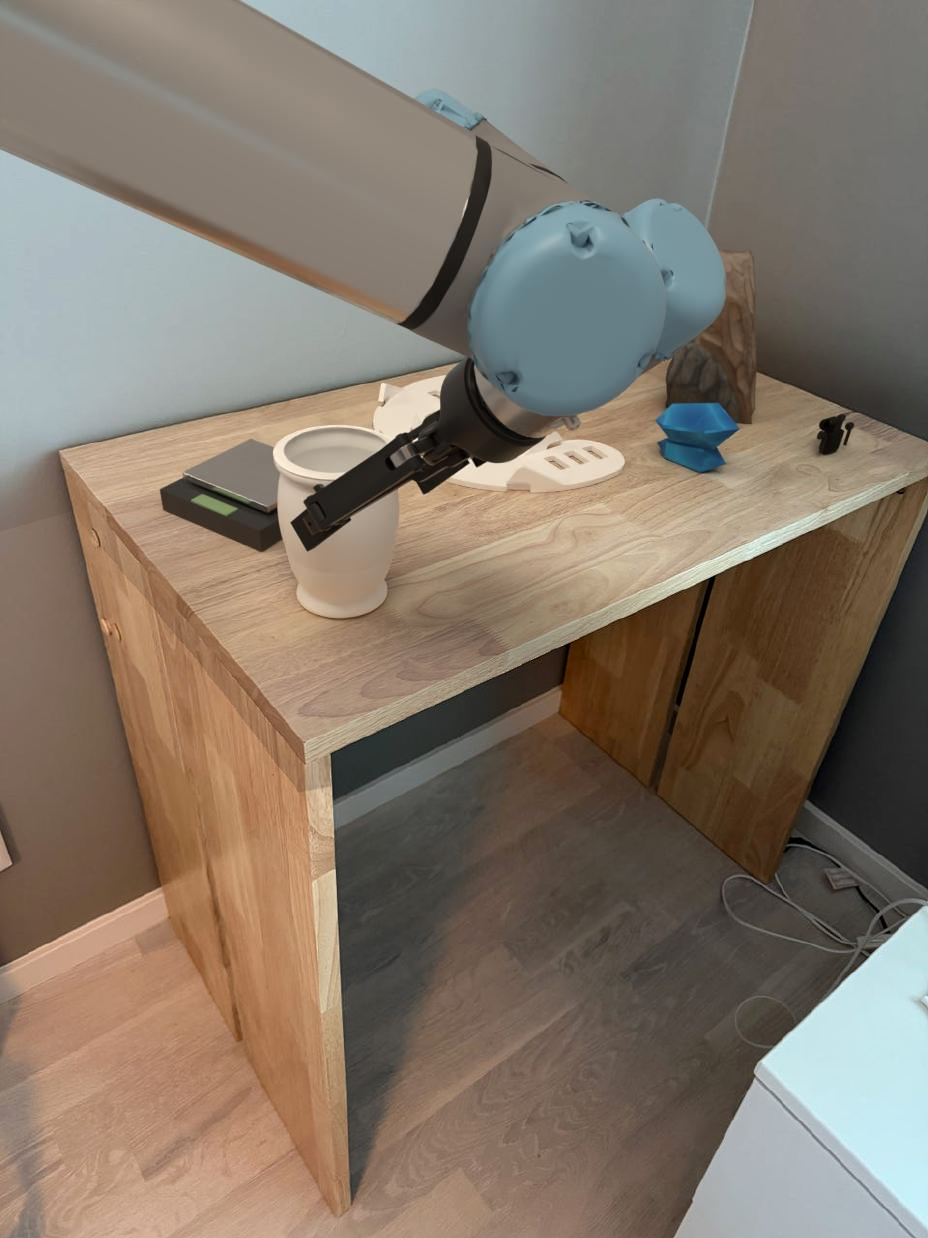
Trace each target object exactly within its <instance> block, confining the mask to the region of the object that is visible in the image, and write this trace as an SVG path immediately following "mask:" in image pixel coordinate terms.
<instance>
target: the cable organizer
mask: <svg viewBox="0 0 928 1238" xmlns="http://www.w3.org/2000/svg"><path fill="white" fill-rule="evenodd" d="M446 375H447V374H444V375H443V374H442V375H438V376H434V377H430V378H425V379H421V380H419V381H415V382H412V383H409V384H407V385H405V386H402V387H399V386H396V385H393V384H390V383H387V382H382V383H381V384H380V387H379V394H378V400H377V401H378V402H382V403H383V402H385V404H384V405H383V406H381V405H378V406H376V407H377V408H376V409H375V411H374V414H373V419H372V421H373V422H372V426H373V429H372V430H374V431H377V432H380V433H382V434H384V435H386V436H388V437H389V438H391V439H392V440H393V439H395V438H396V437H395V436H397V435H398V434H400V433H404V432H405V433H406V432H407V433H408V432H410V431H412V430H413V429H415V428H417V427H418V426H420V425H421V424H422V422H423V420H424V419H425V418H426V417H428V416H429V415H431V414H433V413H434V412H436V411H438V410H440V391H441V387H442V383H443V381H444V379H445V377H446ZM417 440H418V438H417V439H415V440H413V441H412V442H415V441H417ZM556 442H558V445H556V446H553V447H550V448H549V447H548V446H549V445H550V444H552V443H556ZM590 451H591V452H592V453H594V454H596V455H597V456H599V457H600V458H598V457H596V456H594V455H593V454H591V453H590ZM421 457H422V456H421ZM571 457H573V458H575V459H577V460H578V461H579V462H581V463H578V462H577V461H575V460H574V459H572V458H571ZM422 458H423V457H422ZM468 461H469V462H470V464H468V465H467V466H466V467H464V468H463V469H461V470H460V471H458V472H457V473H456V474H454V475H453V476H451V477H450V478H449V479H447V480H446V481H444V483H445V482H446V483H449V484H452V485H457V486H461V487H464V488H465V487H466V488H471V489H477V490H483V491H489V492H501V493H507V491H508V490H513V491H514V490H515V491H529V493H530V494H537V493H539V494H541V493H553V492H555V493H556V492H563V491H571V490H575V489H582V488H585V487H589V486H593V485H597V484H600V483H602V482H606V481H607V480H610V479H612V478H615V477H617V476H618V475H620V474H621V473H622V472H623V470H624V468H625V462H626V461H625V456H624V455H623V454H622V453H621V452H620V451H619V450H618V449H616V448H615V447H612V446H611V445H608V444H605V443H602V442H599V441H594V440H589V439H568V440H564V438H563V437H562V436H561V435H560V434H559V433H558V431H557V430H556V431H554V432H553V433H551V434H549V435H547V436H546V437H545V438H544V439H543V440H542V441H541V442H539V443H538V444H536V445H535V446H533V447H532V448H530V449H529V450H527V451H526V452H524V453H523V454H521V455H520V456H518V457H517V458H515V459H514V460H512V461H509V462H506V463H490V462H486V463H485V464H483V465H481V466H479V467H477V468H476V466H475V465H474V463H473V461H472V459H471V458H468ZM551 462H554V463H556V464H557V465H559V466H560V467H562V469H560V468H558V467H557V466H555V465H554V464H552V463H551Z"/></svg>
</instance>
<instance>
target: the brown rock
mask: <svg viewBox="0 0 928 1238" xmlns="http://www.w3.org/2000/svg"><path fill="white" fill-rule="evenodd" d="M717 249H718V251H719V253H720V256H721V258H722V261H723V265H724V269H725V273H726V286H725V291H726V299H725V303H724V306H723V309H722V311H721V313H720V314H719V316H718V317H717V319H716V320H715V321H714V322H713V323H712V324H711V325H710V326H709V327H707V328H706V329H705V330H704V331H703V332H701V334H700V335H698V336H697V337H696V338H694V339H693V340H692V341H690V342H689V343H688V344H686V345H685V346H684V347H682V348H681V349H680V350H678V351H677V352H676V353H675V354H674V355H673V357H672V358H671V360H670V362H669V363H668V366H667V368H666V372H665V390H666V392H665V393H666V400H665V408H666V409H667V408H669V407H670V406H671V405H672V404H674V403H719V404H720V405H721V407H722V408H723V409H724V410H725V411H726V413H727V414H728V415H729V416H730V417H731V419H732V420H733V421H734V422H735V423H736V424H746V425H747V424H749V425H750V424H753V419H752V416H753V414H754V413H755V410H756V388H757V387H756V385H757V373H758V372H757V371H758V370H757V369H758V368H757V364H758V363H757V362H758V361H757V360H758V357H757V356H758V341H757V340H758V338H757V325H756V324H757V321H756V320H757V316H756V314H757V313H756V312H757V308H756V307H757V306H756V297H757V295H756V294H757V293H756V277H755V262H754V258H755V257H754V255H753V254H752V250H751V249H750V248H747V249H744V250H741V251H738V250H732V251H731V250H728V249H721V248H717Z"/></svg>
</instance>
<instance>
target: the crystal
mask: <svg viewBox="0 0 928 1238" xmlns="http://www.w3.org/2000/svg"><path fill="white" fill-rule="evenodd" d="M654 421H655V423H656V424H657V425H658V426H659V428H660V429H661V430H662V431H663V433H664V434H665V436H666V438H663V439H662V440H659V441H657V442H656V443H657V445H658V448H659V450H660V451H661V454H662V456H663V457H664V460H665V459H666V460H668V461H670V462H672V463H675V464H677V465H680V466H682V467H685V468H687V469H689V470H692V471H694V472H697V473H699V474H702V473H705V472H708V471H711V470H713V469H717V468H719V467H722V466H725V465H727V463H726V460H725V459H724V457H723V455H722V453H721V452H720V450H719V449H718V447H719V446H720V445H721V444H723V443H724V442H726V441H727V440H728V439H729V438H730V437H732V436H733V435H734V434H736V433H737V432H738V431H740V429H741V428H740V427H739V426H738V425H737V423H735V422H734V421H733V420H732V419H731V417H730V416H729V415H728V414H727V413H726V411H725V410H724V409H723V408H722V407H721V405H720V404H719V403H674V404H672V405H671V406H670V407H669V408H666V409H665V410H664V411H663V412H662V413H661V414H660V415H658V417H657V418H655V419H654Z"/></svg>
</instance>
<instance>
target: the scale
mask: <svg viewBox="0 0 928 1238" xmlns="http://www.w3.org/2000/svg"><path fill="white" fill-rule="evenodd" d="M159 494H160V499H161V505H162V511H165V512H168V513H170V514H171V515H174V516H177V517H178V518H181V519H184V520H186V521H189V522H191V523H193V524H195V525H197V526H200V527H203V528H205V529H207V530H209V531H212V532H214V533H216V534H218V535H221V536H224V537H225V538H228V539H231V540H233V541H235V542H237V543H240V544H242V545H245V546H246V547H248V548H249V547H250V548H251V549H254V550H256V551H259V552H261V553H262V552H264V551H266V550H268V549H269V548H271V547H272V546H274V545H276V544H277V543H279V542H281V541H283V538H282V535H281V530H280V525H279V519H278V508H276V509H275V510H273V511H271V512H269V513H267V512H264V511H262V510H259V509H257V508H254V507H252V506H249V505H247V504H244V503H242V502H239V501H237V500H234V499H232V498H229V497H227V496H224V495H222V494H219V493H217V492H215V491H212V490H210V489H207V488H205V487H202V486H200V485H197V484H195V483H192V482H190V481H187V480H185V479H183V477H182V478H180V479H178V480H176V481H173V482H171V483H169V484H167V485H165V486H163V487H161V488H159Z"/></svg>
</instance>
